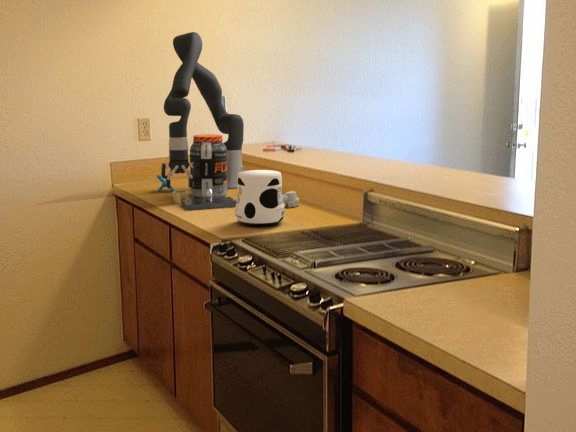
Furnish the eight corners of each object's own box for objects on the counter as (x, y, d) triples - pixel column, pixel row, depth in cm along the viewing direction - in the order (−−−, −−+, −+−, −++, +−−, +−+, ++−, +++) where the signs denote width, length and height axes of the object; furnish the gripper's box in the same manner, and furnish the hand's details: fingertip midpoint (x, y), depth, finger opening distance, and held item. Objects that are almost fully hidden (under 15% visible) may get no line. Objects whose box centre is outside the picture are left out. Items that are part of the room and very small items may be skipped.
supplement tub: (217, 199, 294) (215, 137, 289) (184, 197, 300) (182, 136, 295) (233, 193, 309) (232, 134, 303) (202, 191, 315) (200, 133, 309)
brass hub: (187, 200, 293) (186, 189, 292) (190, 203, 287) (190, 192, 286) (171, 201, 291) (171, 190, 290) (175, 204, 285) (174, 193, 284)
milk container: (229, 220, 255) (228, 171, 251) (273, 216, 262) (273, 168, 258) (245, 230, 239) (244, 178, 236) (292, 226, 246) (292, 174, 242)
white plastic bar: (238, 201, 270) (293, 187, 282) (241, 218, 272) (295, 203, 284) (245, 204, 266) (300, 188, 278) (247, 221, 268) (302, 205, 280)
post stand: (229, 201, 291) (229, 185, 290) (237, 206, 280) (237, 190, 279) (181, 204, 284) (180, 188, 283) (187, 210, 273) (187, 193, 272)
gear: (173, 189, 310) (157, 173, 309) (164, 199, 310) (147, 183, 309) (177, 188, 321) (161, 173, 320) (168, 198, 321) (152, 182, 320)
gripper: (193, 146, 291) (194, 185, 294) (159, 147, 286) (160, 187, 289) (197, 148, 284) (198, 188, 287) (162, 149, 279) (163, 190, 282)
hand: (179, 188), depth 288 cm, fingers open, 8 cm apart
